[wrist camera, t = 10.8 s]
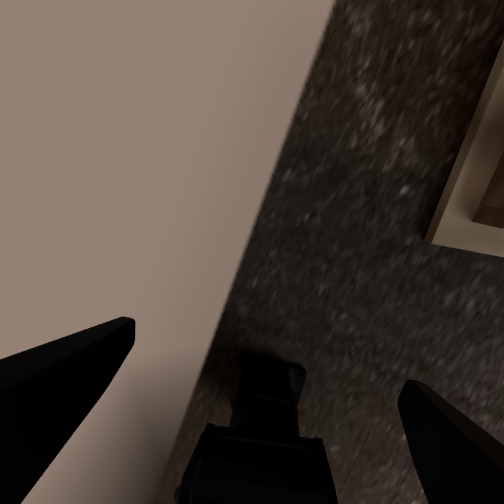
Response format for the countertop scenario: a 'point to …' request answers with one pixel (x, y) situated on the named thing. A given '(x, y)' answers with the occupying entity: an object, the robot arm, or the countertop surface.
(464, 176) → the socket board
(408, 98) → the countertop surface
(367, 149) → the countertop surface
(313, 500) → the robot arm
